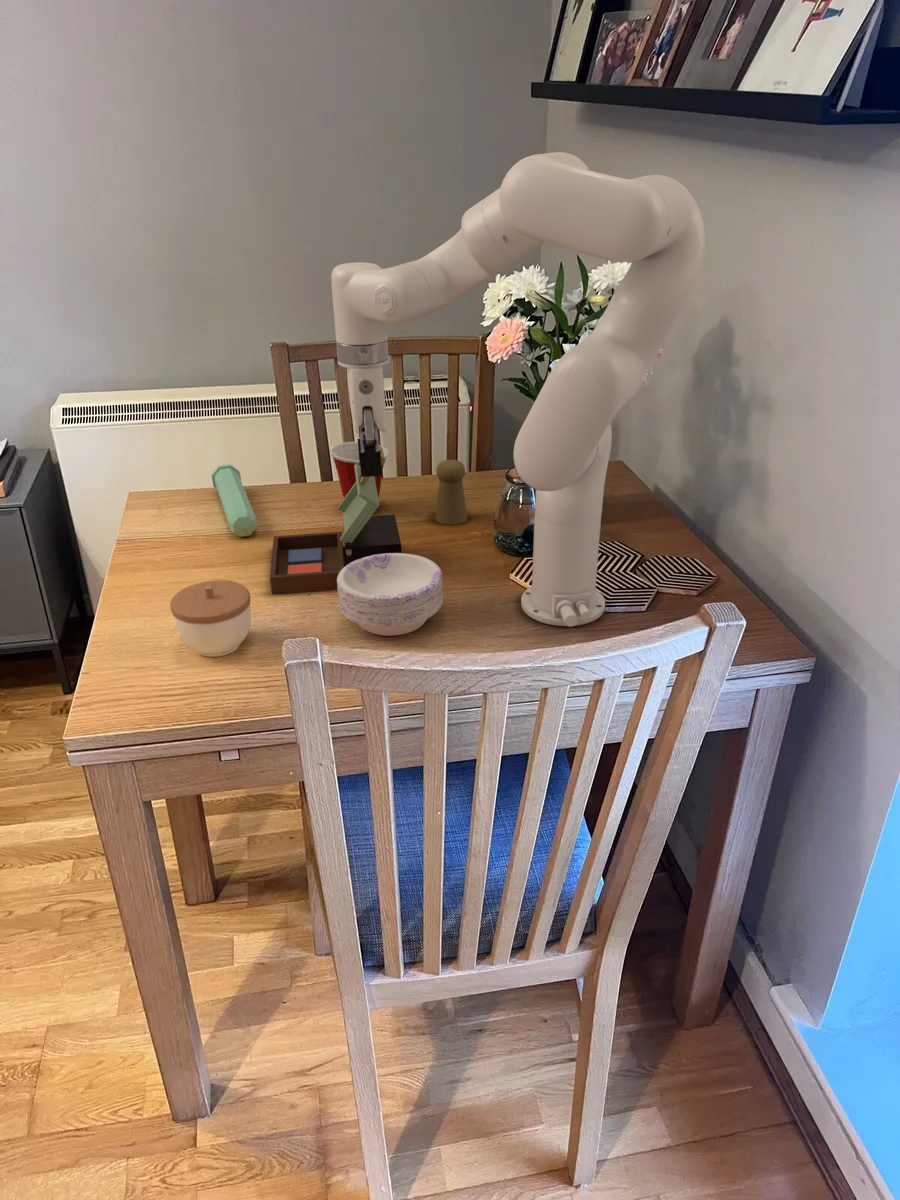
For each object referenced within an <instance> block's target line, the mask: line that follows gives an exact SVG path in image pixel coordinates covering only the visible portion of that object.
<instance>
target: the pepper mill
mask: <svg viewBox="0 0 900 1200" xmlns="http://www.w3.org/2000/svg"><path fill="white" fill-rule="evenodd" d="M435 473H436V476H437V478H438V480H439V482H438V489H437V499H436V505H435V506H436V507H435V515H434V519H435V521H436V522H437V523H439V524H443V525H449V526H450V525H459V524H462V523H464V522H466V521H467V520H468V511H467V506H466V505H467V504H466V499H465V492H464V485H463V484H464V483H463V478H464V477H465V475H466V467H465V465H464V463H463V462H462V461H460V460H458V459H445V460H441V461H440V462H439V463H438V464H437V466H436V471H435Z"/></svg>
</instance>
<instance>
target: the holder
mask: <svg viewBox="0 0 900 1200" xmlns="http://www.w3.org/2000/svg"><path fill="white" fill-rule="evenodd" d="M342 535H343V533H342V531H331V532H315V533H301V534H287V535H274V536H273V539H272V540H273V541H272V549H271V550H272V551H271V561H270V562H271V563H270V571H269V572H270V573H269V581H270V589H271V595H281V594H295V593H296V594H297V593H309V592H320V591H333V590H334V591H335V590H338V585H337V577H338V574H339V573H340V571H341V570H342V569H343V568H344V567H345V556H344V542H342V541H340V538H341V537H342ZM311 548H321V550H322V572H310V573H297V574H288V555H289V550H298V549H311Z"/></svg>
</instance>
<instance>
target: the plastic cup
mask: <svg viewBox="0 0 900 1200" xmlns="http://www.w3.org/2000/svg"><path fill="white" fill-rule="evenodd" d="M379 446H381V447H382V449H383V453H384V458H385V460H386V459H387V457H388V456H389V449H387V448H386V447H384V446H383V445H380V444H379ZM329 451H330V456H331V457H332V459H333V462H334V465H335V470H336V472H337V477H338V480H339V485H340V489H341V493H342V496H343V499H344V498H345V497H346V495H347V494H348V492H349V491H350V490H351V488H352V487H353V485H354V484H355V483H356V476H355V468H354V466H355V464H356V463H357V464H358V465H360V462H359V450H358V441H346V442H341V443H338V444H334V445H333V446H332V447H330V449H329ZM384 467H385V464H384V465H382V466H381V468H382V472H383V470H384ZM374 477H375V483H376V488H377V494H378V499H380V498H379V497H380V492H381V486H382V478H383V474H382V475H381V476H374ZM376 511H377V509H376V510H375V512H376Z"/></svg>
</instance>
